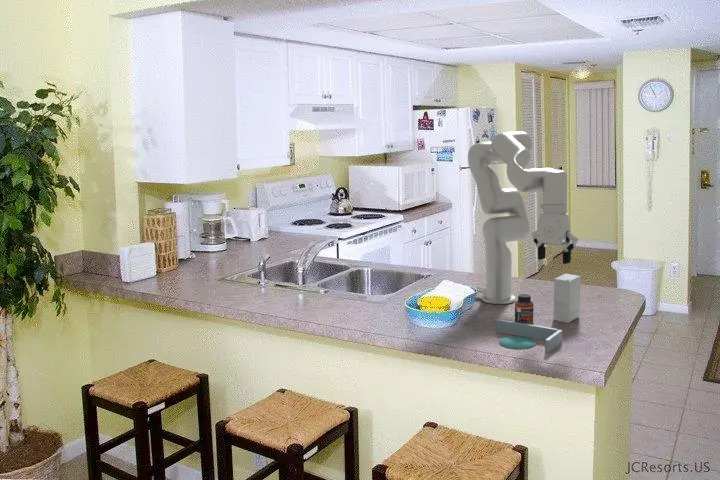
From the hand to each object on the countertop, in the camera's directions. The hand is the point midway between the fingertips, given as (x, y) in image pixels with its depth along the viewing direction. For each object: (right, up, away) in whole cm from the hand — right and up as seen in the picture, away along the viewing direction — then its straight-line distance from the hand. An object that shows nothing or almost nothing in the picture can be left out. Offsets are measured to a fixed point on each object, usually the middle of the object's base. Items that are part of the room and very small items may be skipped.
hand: (553, 261), depth 224 cm
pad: (-14, -25, -11) cm, 31 cm away
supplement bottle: (-9, -22, +2) cm, 24 cm away
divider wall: (-13, -25, -10) cm, 30 cm away
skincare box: (+7, -20, +11) cm, 24 cm away
